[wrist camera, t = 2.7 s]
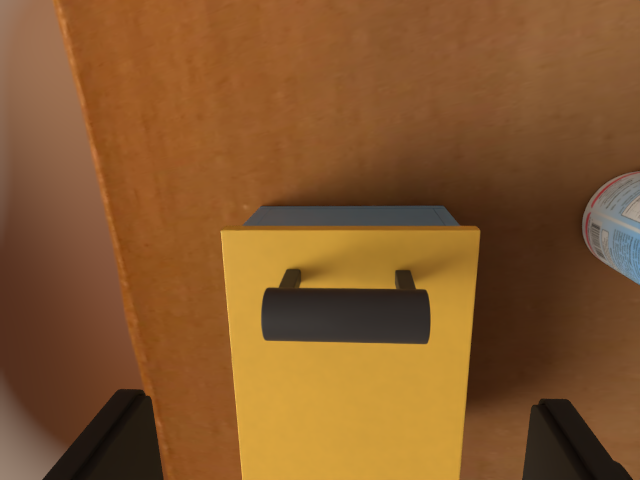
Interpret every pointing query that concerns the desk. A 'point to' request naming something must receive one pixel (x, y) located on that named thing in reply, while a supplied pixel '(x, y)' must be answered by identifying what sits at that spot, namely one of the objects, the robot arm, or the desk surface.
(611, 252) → the pill bottle
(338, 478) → the lid
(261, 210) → the blue open box
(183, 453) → the desk surface
